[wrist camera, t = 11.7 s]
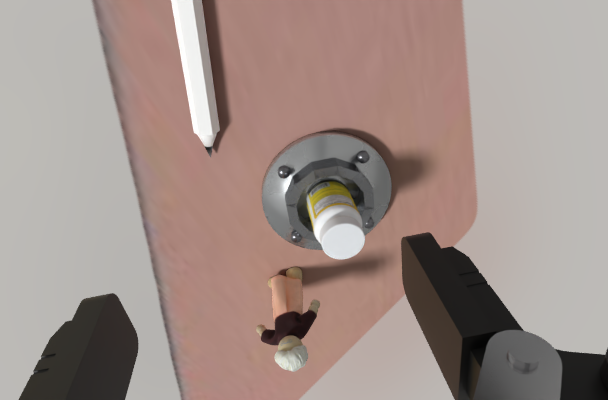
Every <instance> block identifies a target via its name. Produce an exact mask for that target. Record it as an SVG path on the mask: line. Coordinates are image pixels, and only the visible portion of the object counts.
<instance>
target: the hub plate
mask: <svg viewBox="0 0 608 400" xmlns="http://www.w3.org/2000/svg"><path fill="white" fill-rule="evenodd" d="M325 178H333V179H337V180H340V181H341V182H343V183H344V184H345V185H346V187H347V188H348V190H349V192H350V194H351V197H352V199H353V201H354V203H355V205H356V207H357V209H358V212H359V214H360V216H361V218H362V229H363V232H364V235H366V234H367V233H369V232H370V231H371V230H372V229H373V228H374V227H375V226H376V225H377V224H378V222H379V221H380V220H381V218H382V217H383V215H384V214H385V212H386V210H387V207H388V205H389V202H390V197H391V189H392V184H391V177H390V173H389V170H388V168H387V166H386V164H385V162H384V161H383V159H382V157H381V156H380V155H379V153H378V152H377V151H376V150H375V149H374V147H372V146H371V145H370V144H369V143H368V142H366V141H364V140H363V139H361V138H359V137H357V136H354V135H352V134H348V133H344V132H337V131H325V132H317V133H314V134H310V135H307V136H304V137H302V138H299V139H297V140H296V141H294V142H292V143H291V144H289V145H288V146H286V147H285V148H284V149H283V150H282V151H281V152H279V153H278V155H277V156H276V157H275V158H274V159H273V161H272V162H271V164H270V165H269V167H268V169H267V171H266V174H265V177H264V180H263V185H262V203H263V210H264V213H265V216H266V218H267V220H268V222H269V224H270V225H271V227H272V228H273V229H274V230H275V231H276V233H277V234H278V235H280V236H281V237H282V238H283V239H285V240H287V241H288V242H290V243H292V244H294V245H297V246H300V247H303V248H307V249H315V250H323V248H322V245H321V243H320V242H319V241H318V240H317V239H316V237H315V235H314V231H313V227H312V223H311V220H310V216H309V212H308V209H307V205H306V195H307V192H308V190H309V188H310V187H311V186H312V185H313V184H314V183H315V182H317V181H319V180H321V179H325Z"/></svg>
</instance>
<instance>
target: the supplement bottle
mask: <svg viewBox="0 0 608 400" xmlns="http://www.w3.org/2000/svg"><path fill="white" fill-rule="evenodd" d="M306 205H307V209H308V212H309V216H310V220H311V223H312V227H313V231H314V235H315V237H316V239H317V240H318V241H319V242H320V243H321V245H322V248H323V250H324V252H325V253H326V254H327V255H328V256H330V257H332V258H334V259H347V258H350V257H352V256H354V255H356V254H357V253H358V252H359V251H360V250H361V249H362V247H363V245H364V242H365V235H364V232H363V229H362V218H361V216H360V214H359V212H358V209H357V207H356V205H355V203H354V201H353V199H352V197H351V194H350V192H349V190H348V188H347V187H346V185H345V184H344V183H343V182H341V181H340V180H337V179H333V178H325V179H321V180H319V181H317V182H315V183H314V184H313V185H312V186H311V187H310V188H309V190H308V192H307V195H306Z"/></svg>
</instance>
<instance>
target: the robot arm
mask: <svg viewBox="0 0 608 400" xmlns="http://www.w3.org/2000/svg"><path fill="white" fill-rule="evenodd" d="M401 249H402V278H403V286H404V290H405V294H406V296H407V299H408V302H409V304H410V306H411V308H412V310H413V312H414V314H415V316H416V319H417V321H418V323H419V325H420V327H421V329H422V331H423V333H424V335H425V338H426V340H427V342H428V344H429V346H430V348H431V350H432V352H433V354H434V357H435V359H436V361H437V363H438V365H439V367H440V369H441V371H442V373H443V376H444V378H445V380H446V382H447V384H448V386H449V388H450V390H451V392H452V395H453V397H454V399H455V400H608V349H607V352H606V355H601V354H589V353H576V352H567V351H561V350H557V349H554V348H553V347H552V346H551V345H550V344H549V343H548V342H547V341H545V340H544V339H542V338H541V337H539V336H537V335H534V334H532V333H529V332H526V331H524V330H523V329H522V328H521V327H520V325H519V324H518V323H517V321H516V320H515V319H514V317H513V316H512V315H511V313H510V312H509V311H508V309H507V308H506V307H505V305H504V304H503V303H502V301H501V300H500V298H499V297H498V296H497V294H496V293H495V292H494V290H493V289H492V288H491V287H490V285H488V284H487V281H486V280H485V278H484V277H483V276H482V274H481V273H479V271H478V269H477V268H476V266H475V265H474V264H473V262H472V261H471V260H470V258H469V257H468V256H466V255H465V254H463V253H462V252H460V251H458V250H457V249H455V248H454V247H447V248H442V249H441V248H440V246H439V245H438V243H437V242H436V240H435V239H434V237H433V236H432V234H431V233H429V232H427V233H422V234H417V235H412V236H407V237H403V238H402V241H401ZM137 353H138V337H137V333H136V331H135V328H134V327H133V325H132V323H131V321H130V319H129V317H128V315H127V313H126V311H125V310H124V308H123V306H122V304H121V302H120V301H119V298H118V297H117V296H116V295H115V294H113V293H112V294H106V295H101V296H96V297H91V298H86V299H84V300H82V301H81V303H80V305H79V307H78V309H77V311H76V313H75V315H74V317H73V319H72V321H67V322H65V323H64V324H63V325H62V326H61V327H60V329H59V330H58V331H57V332H56V333H55V334H54V335H53V336H52V337H51V338H50V340H49V342H48V344H47V346H46V348H45V350H44V351H43V353H42V355H41V360H39V361H38V363H37V365H36V367H35V369H34V374H33V375H31V377H30V379H29V381H28V383H27V385H26V387H25V388H24V391H23V392H22V394H21V396H20V398H19V400H125V397H126V394H127V390H128V387H129V383H130V379H131V375H132V372H133V368H134V365H135V361H136V357H137Z"/></svg>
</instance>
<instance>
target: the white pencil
mask: <svg viewBox="0 0 608 400" xmlns="http://www.w3.org/2000/svg"><path fill="white" fill-rule="evenodd" d="M171 2H172V8H173V14H174V19H175V25H176V31H177V37H178V42H179V48H180V54H181V60H182V66H183V71H184V77H185V83H186V89H187V94H188V100H189V106H190V112H191V118H192V123H193V129H194V133H196V134H197V135H198V136H199V138H200V139H201V141H202V142H203V144H204V146H205V148H206V150H207V152H208V154H209V155H210V157H211V153H212V147H213V143H214V140H215V138H216V135H217V132H218V131H220V128H219V121H218V113H217V106H216V99H215V92H214V85H213V77H212V70H211V63H210V56H209V49H208V41H207V34H206V27H205V20H204V13H203V5H202V0H171Z"/></svg>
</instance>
